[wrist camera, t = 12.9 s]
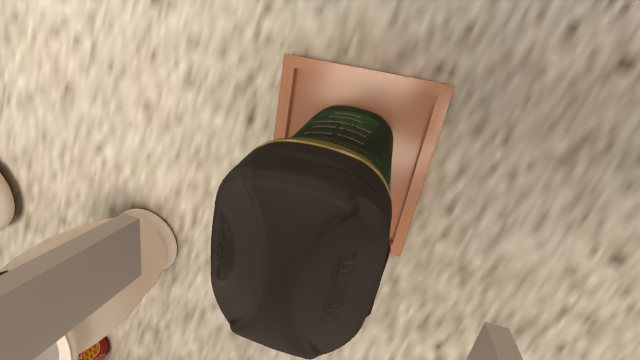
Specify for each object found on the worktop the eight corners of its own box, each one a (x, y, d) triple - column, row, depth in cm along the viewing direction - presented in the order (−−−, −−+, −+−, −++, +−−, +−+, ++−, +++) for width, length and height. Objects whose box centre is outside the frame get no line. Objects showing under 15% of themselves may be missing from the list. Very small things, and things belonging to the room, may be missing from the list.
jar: (201, 265, 38) (92, 376, 24) (140, 282, 41) (13, 389, 27) (157, 188, 36) (10, 261, 22) (96, 212, 39) (-66, 290, 25)
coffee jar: (313, 97, 28) (190, 137, 11) (402, 115, 27) (422, 194, 10) (297, 194, 31) (183, 343, 14) (374, 214, 30) (354, 401, 13)
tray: (450, 84, 26) (454, 85, 24) (399, 246, 32) (400, 256, 30) (290, 54, 28) (284, 53, 26) (270, 212, 34) (263, 219, 32)
